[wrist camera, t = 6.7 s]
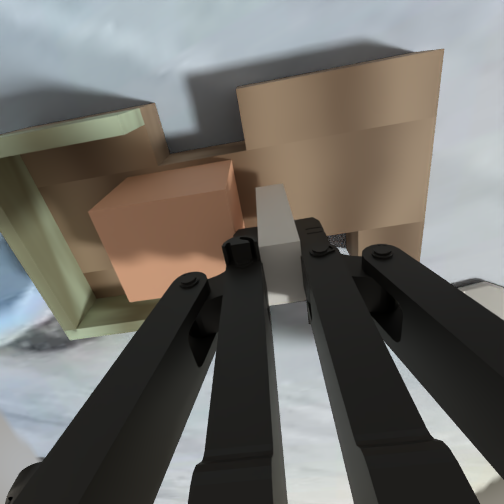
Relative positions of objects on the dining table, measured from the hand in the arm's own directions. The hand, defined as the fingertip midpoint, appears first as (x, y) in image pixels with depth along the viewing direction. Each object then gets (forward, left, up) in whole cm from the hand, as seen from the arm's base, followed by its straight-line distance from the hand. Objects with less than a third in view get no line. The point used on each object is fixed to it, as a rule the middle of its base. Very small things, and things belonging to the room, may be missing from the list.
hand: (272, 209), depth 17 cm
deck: (-2, 0, -4) cm, 5 cm away
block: (-5, 0, -1) cm, 5 cm away
